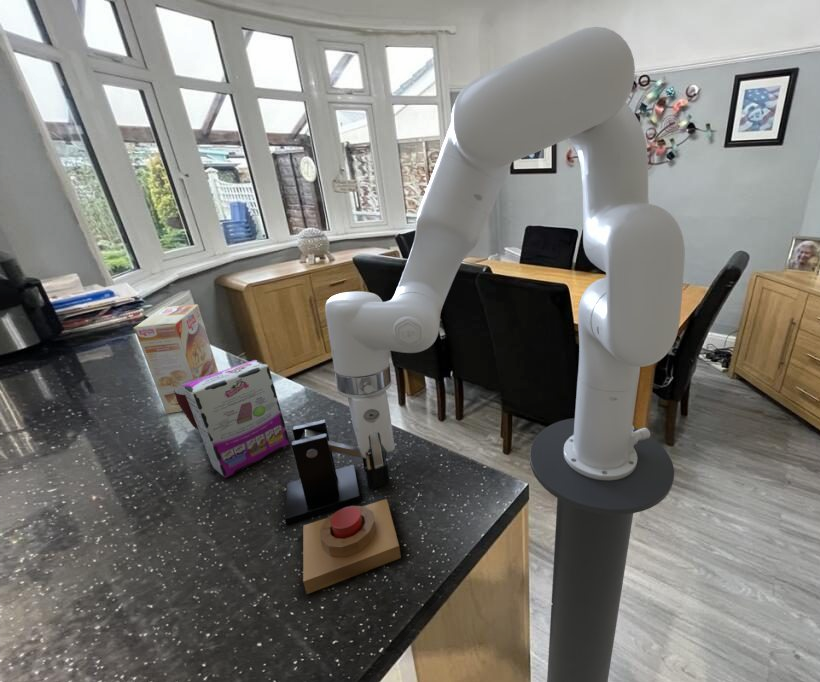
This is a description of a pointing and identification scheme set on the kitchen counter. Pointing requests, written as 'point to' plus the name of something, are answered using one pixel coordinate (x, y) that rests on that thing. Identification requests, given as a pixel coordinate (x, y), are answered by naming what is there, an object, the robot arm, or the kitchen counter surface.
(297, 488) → the switch bracket
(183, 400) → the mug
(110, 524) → the kitchen counter surface
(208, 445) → the candy bar box
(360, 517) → the button
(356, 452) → the switch lever
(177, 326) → the coffeecake box
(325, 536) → the button block
